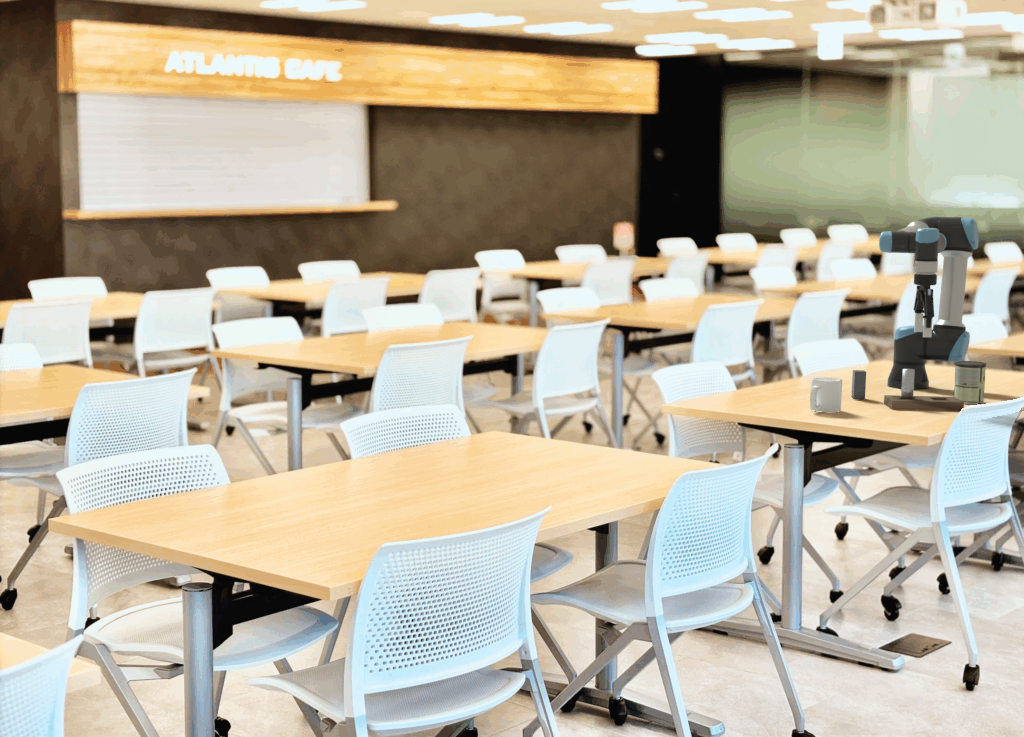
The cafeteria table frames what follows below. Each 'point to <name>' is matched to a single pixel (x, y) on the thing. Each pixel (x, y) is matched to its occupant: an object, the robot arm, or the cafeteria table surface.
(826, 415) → the cafeteria table surface
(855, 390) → the square bit
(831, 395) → the mug
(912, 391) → the grey cylinder
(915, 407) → the socket block
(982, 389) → the coffee can
